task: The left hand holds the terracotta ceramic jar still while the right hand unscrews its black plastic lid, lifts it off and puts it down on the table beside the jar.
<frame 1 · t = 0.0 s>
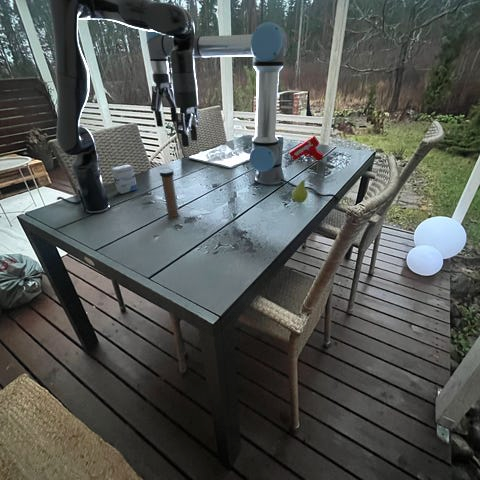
left hand: (190, 143, 93), 29 cm above the table, tool pointing down, fingers open, 8 cm apart
right hand: (167, 124, 132), 28 cm above the table, tool pointing down, fingers open, 13 cm apart
lid: (166, 171, 101), point 19 cm above the table, screwed on, not yet turned
fruit: (299, 202, 122), on the table
toy gun: (305, 160, 175), on the table
relief map: (222, 158, 180), on the table
jar: (173, 216, 111), on the table
ink box: (127, 190, 134), on the table
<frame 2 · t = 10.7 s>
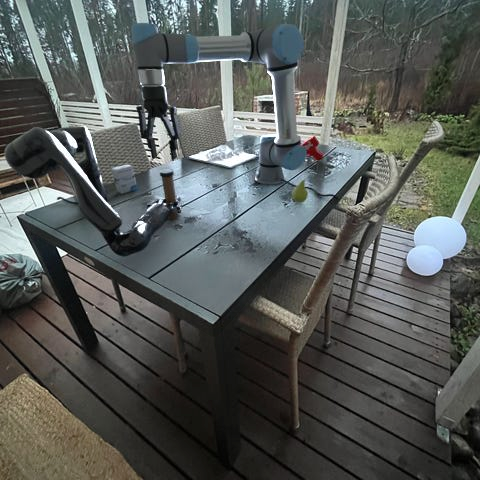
left hand: (173, 198, 110), 7 cm above the table, tool horizontal, fingers closed on jar, 4 cm apart
right hand: (164, 158, 98), 24 cm above the table, tool pointing down, fingers open, 7 cm apart
jar: (173, 216, 111), on the table, touching left hand
everything else where it was.
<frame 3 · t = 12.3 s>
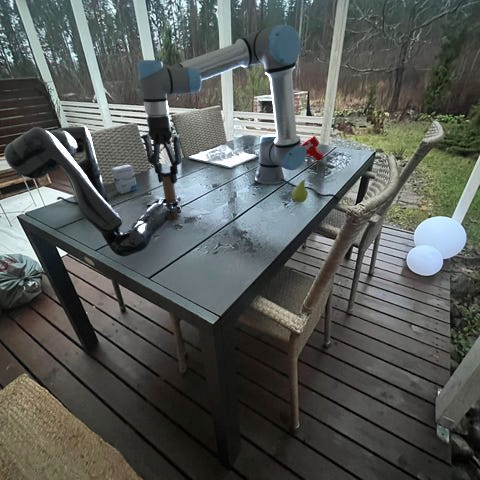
left hand: (173, 198, 110), 7 cm above the table, tool horizontal, fingers closed on jar, 4 cm apart
right hand: (168, 181, 103), 15 cm above the table, tool pointing down, fingers closed on lid, 5 cm apart
lid: (166, 171, 101), point 19 cm above the table, screwed on, not yet turned, touching right hand
jar: (173, 216, 111), on the table, touching left hand
everything else where it was.
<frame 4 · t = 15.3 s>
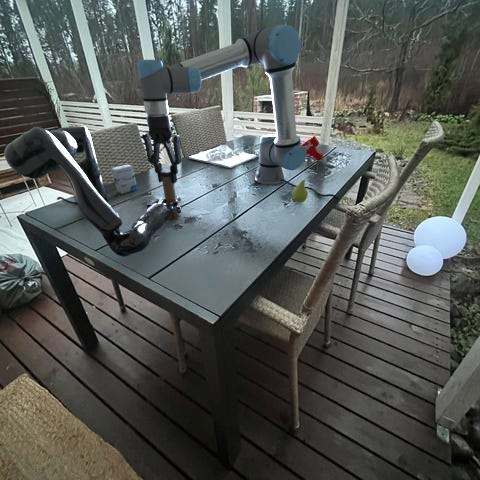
left hand: (173, 198, 110), 7 cm above the table, tool horizontal, fingers closed on jar, 4 cm apart
right hand: (168, 181, 103), 15 cm above the table, tool pointing down, fingers closed on lid, 5 cm apart
lid: (166, 171, 101), point 19 cm above the table, turned 83° so far, risen 0.1 cm, still on its thread, touching right hand
jar: (173, 216, 111), on the table, touching left hand
everything else where it was.
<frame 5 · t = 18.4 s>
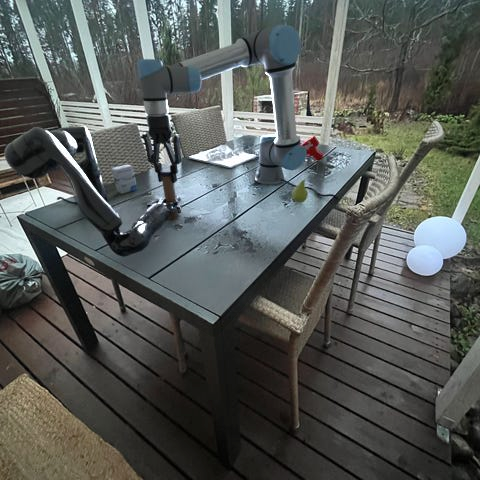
left hand: (173, 198, 110), 7 cm above the table, tool horizontal, fingers closed on jar, 4 cm apart
right hand: (168, 181, 103), 15 cm above the table, tool pointing down, fingers closed on lid, 5 cm apart
lid: (166, 171, 101), point 19 cm above the table, turned 166° so far, risen 0.2 cm, still on its thread, touching right hand
jar: (173, 216, 111), on the table, touching left hand
everything else where it was.
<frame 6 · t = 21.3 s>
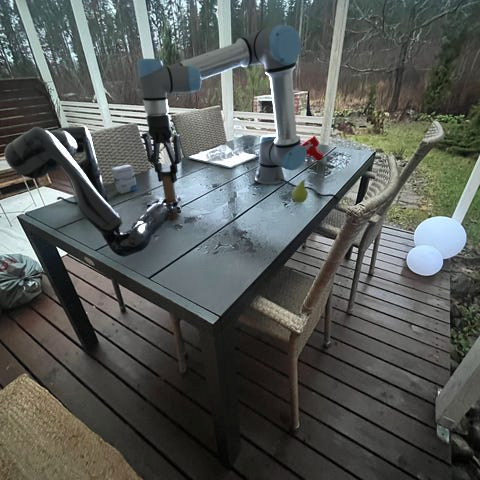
left hand: (173, 198, 110), 7 cm above the table, tool horizontal, fingers closed on jar, 4 cm apart
right hand: (167, 181, 103), 15 cm above the table, tool pointing down, fingers closed on lid, 5 cm apart
lid: (166, 170, 101), point 19 cm above the table, turned 250° so far, risen 0.3 cm, still on its thread, touching right hand
jar: (173, 216, 111), on the table, touching left hand
everything else where it was.
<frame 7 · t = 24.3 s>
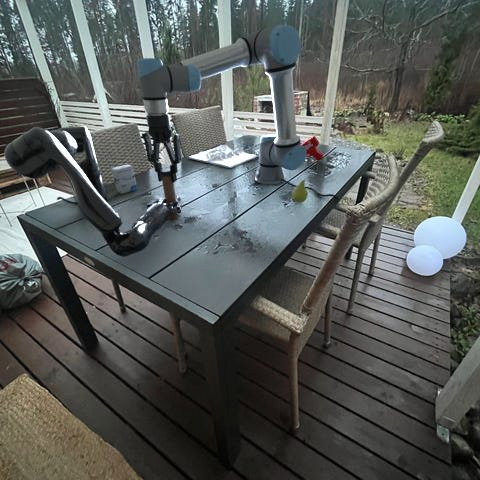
left hand: (173, 198, 110), 7 cm above the table, tool horizontal, fingers closed on jar, 4 cm apart
right hand: (167, 180, 103), 15 cm above the table, tool pointing down, fingers closed on lid, 5 cm apart
lid: (166, 170, 101), point 19 cm above the table, turned 333° so far, risen 0.5 cm, still on its thread, touching right hand
jar: (173, 216, 111), on the table, touching left hand
everything else where it was.
when the right hand's fingers open (0 cm above the table, at t = 35.4 s): lid drops 3 cm, point 1 cm above the table.
when the left hand's fingers open (7 cm above the table, at t = 35.9 s): jar stays where it is, on the table.
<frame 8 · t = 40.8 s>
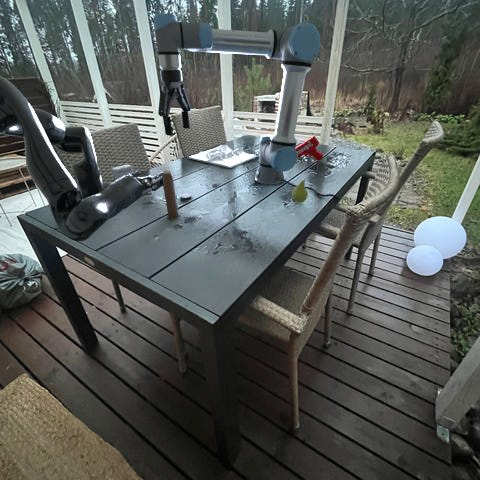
left hand: (149, 174, 90), 22 cm above the table, tool horizontal, fingers open, 8 cm apart
right hand: (178, 131, 109), 29 cm above the table, tool pointing down, fingers open, 13 cm apart
lid: (185, 196, 125), point 1 cm above the table, off its thread
jar: (173, 216, 111), on the table
everything else where it was.
at the end: lid came off its thread; lid point 1.2 cm above the table; the left hand is holding nothing; the right hand is holding nothing; jar tilted 0°; jar moved 0.0 cm from its start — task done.
